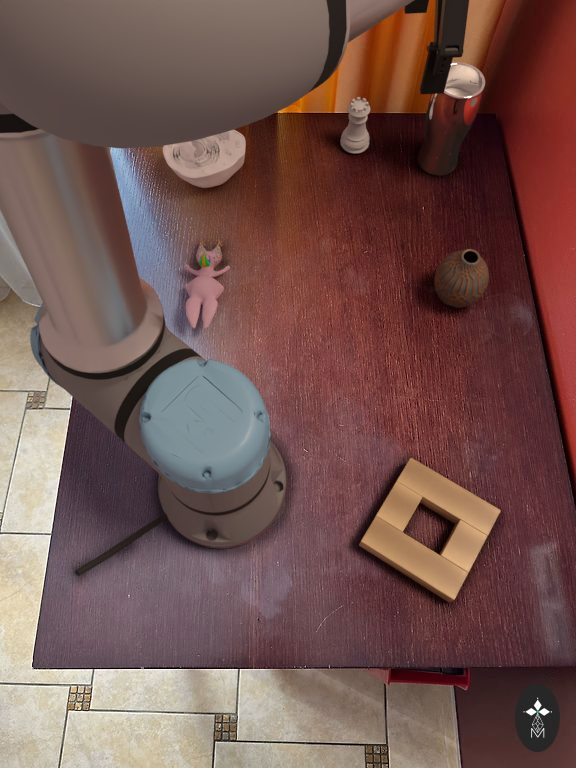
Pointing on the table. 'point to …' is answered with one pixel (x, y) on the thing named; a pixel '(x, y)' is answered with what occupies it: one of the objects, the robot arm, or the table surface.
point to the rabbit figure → (204, 285)
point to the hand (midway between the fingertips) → (423, 50)
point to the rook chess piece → (356, 127)
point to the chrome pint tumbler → (450, 118)
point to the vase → (461, 278)
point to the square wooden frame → (412, 556)
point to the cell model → (207, 158)
